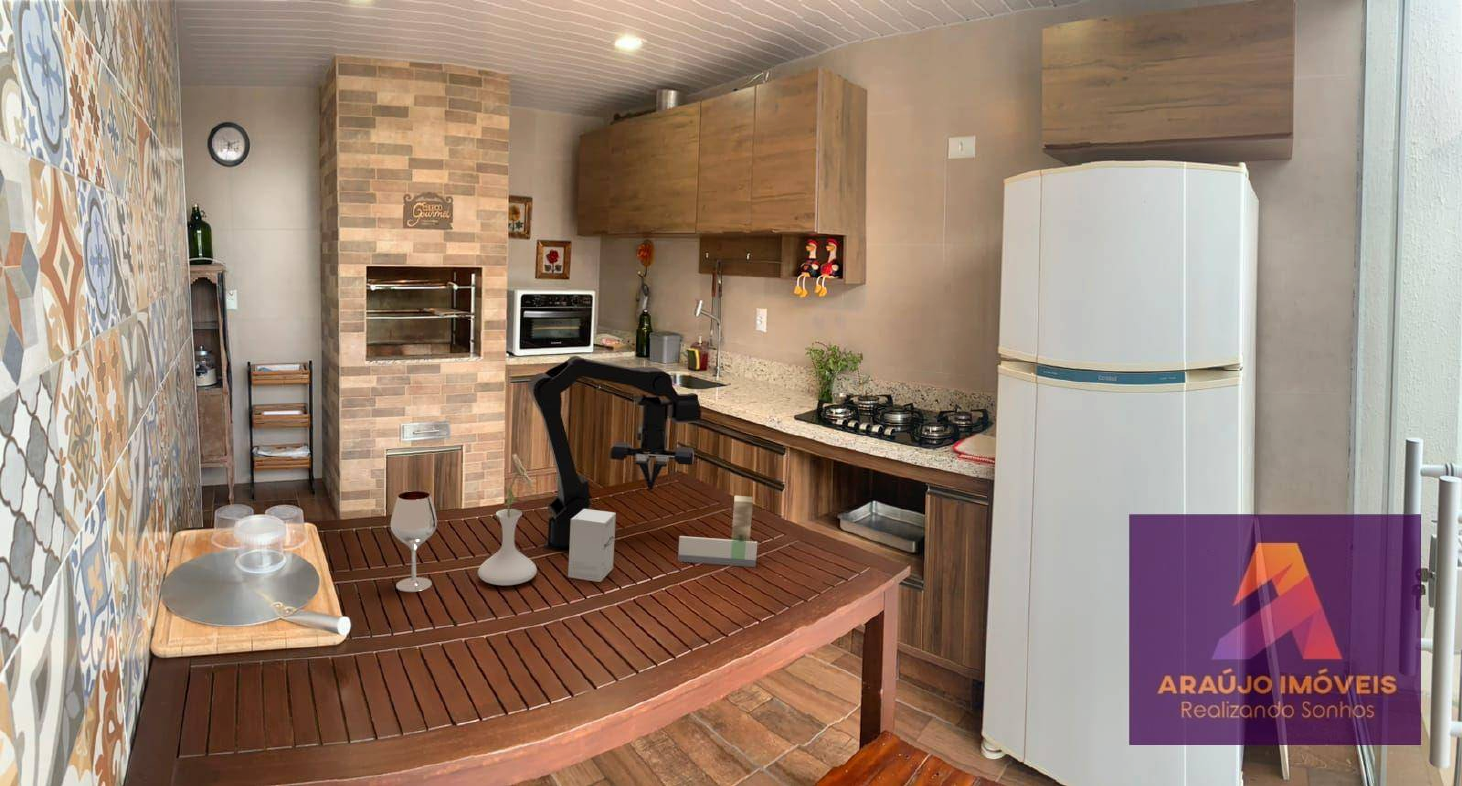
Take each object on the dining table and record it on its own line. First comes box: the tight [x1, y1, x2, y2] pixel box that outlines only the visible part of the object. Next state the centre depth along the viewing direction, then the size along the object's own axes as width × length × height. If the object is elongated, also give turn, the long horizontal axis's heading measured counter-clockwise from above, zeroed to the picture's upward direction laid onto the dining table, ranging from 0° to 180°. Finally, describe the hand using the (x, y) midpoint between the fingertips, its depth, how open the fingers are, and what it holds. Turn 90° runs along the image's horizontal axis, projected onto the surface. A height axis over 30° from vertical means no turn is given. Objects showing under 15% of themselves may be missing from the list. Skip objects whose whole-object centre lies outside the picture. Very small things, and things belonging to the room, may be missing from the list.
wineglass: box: [390, 490, 438, 593], centre depth 153 cm, size 8×8×18 cm
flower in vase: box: [477, 453, 538, 586], centre depth 159 cm, size 13×11×25 cm
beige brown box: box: [730, 495, 754, 541], centre depth 177 cm, size 5×6×12 cm
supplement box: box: [567, 508, 617, 583], centre depth 165 cm, size 7×7×13 cm
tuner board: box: [677, 535, 758, 568], centre depth 179 cm, size 17×8×6 cm, turn 90°
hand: (650, 489), depth 186 cm, fingers closed
